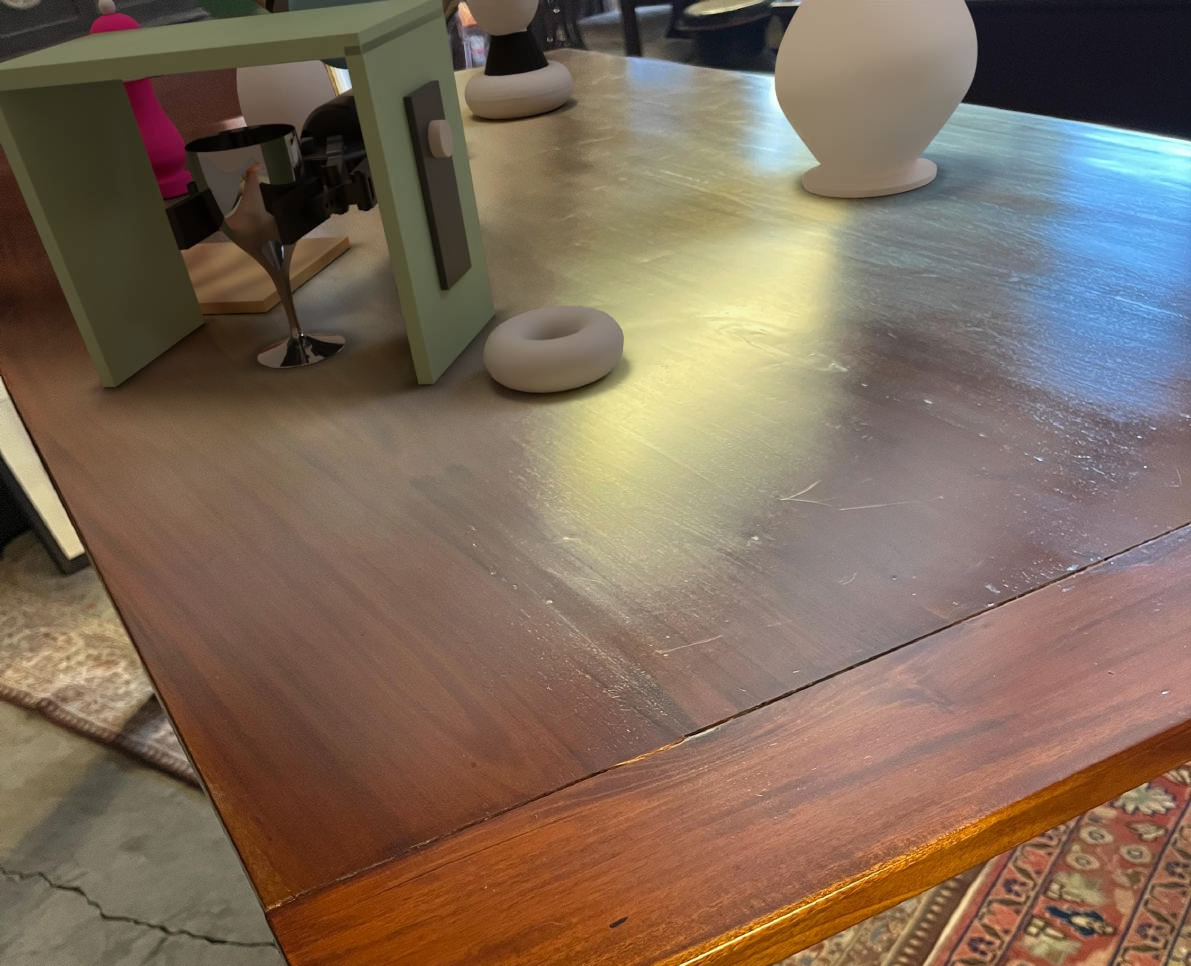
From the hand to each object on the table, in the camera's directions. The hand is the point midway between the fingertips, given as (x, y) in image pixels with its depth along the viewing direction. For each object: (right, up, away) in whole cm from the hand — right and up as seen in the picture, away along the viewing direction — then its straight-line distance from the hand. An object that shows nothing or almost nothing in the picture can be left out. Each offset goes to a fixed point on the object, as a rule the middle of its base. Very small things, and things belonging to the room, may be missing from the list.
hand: (228, 226), depth 77 cm
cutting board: (-9, +9, +27) cm, 30 cm away
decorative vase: (+52, +19, +28) cm, 62 cm away
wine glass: (+2, -5, +10) cm, 12 cm away
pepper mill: (-27, +35, +59) cm, 74 cm away
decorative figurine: (+16, +54, +73) cm, 92 cm away
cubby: (+2, -5, +10) cm, 12 cm away
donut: (+23, -10, +1) cm, 25 cm away
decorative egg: (-13, +45, +69) cm, 83 cm away
